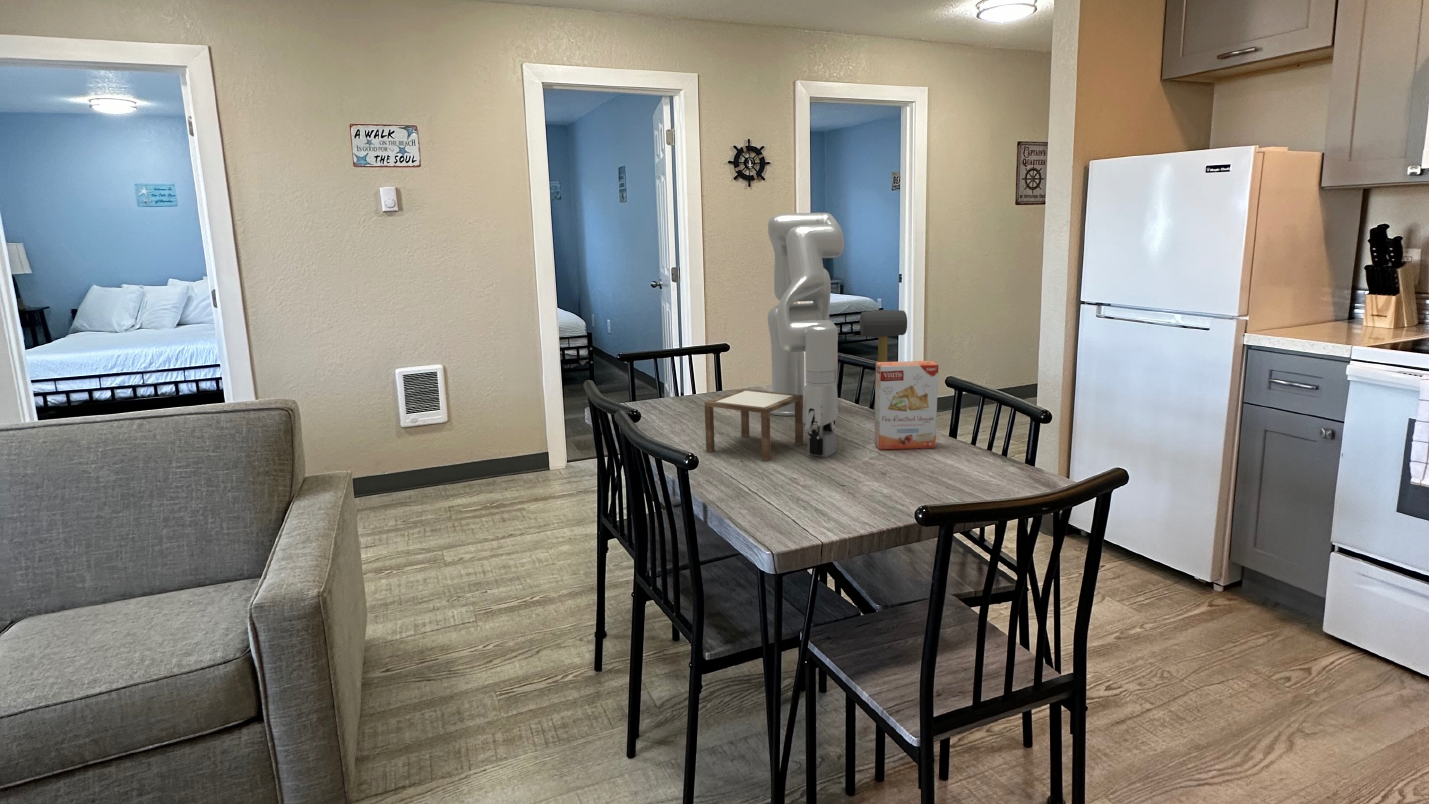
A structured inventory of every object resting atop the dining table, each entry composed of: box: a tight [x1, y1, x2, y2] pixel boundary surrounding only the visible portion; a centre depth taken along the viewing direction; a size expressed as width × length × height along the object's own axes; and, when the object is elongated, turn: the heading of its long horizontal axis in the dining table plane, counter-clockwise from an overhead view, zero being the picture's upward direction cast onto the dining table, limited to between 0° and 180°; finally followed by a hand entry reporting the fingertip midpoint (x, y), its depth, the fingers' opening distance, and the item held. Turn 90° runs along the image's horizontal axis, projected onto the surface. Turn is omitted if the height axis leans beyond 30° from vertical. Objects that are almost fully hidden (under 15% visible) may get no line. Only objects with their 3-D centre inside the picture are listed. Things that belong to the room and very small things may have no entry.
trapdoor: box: [716, 391, 792, 407], centre depth 200 cm, size 14×14×1 cm
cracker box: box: [874, 360, 939, 450], centre depth 197 cm, size 14×6×21 cm, turn 91°
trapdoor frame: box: [704, 388, 804, 462], centre depth 201 cm, size 18×18×12 cm
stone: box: [807, 429, 837, 458], centre depth 195 cm, size 5×5×5 cm
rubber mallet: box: [859, 309, 908, 362], centre depth 228 cm, size 12×8×30 cm, turn 90°
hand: (821, 450), depth 195 cm, fingers closed on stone, 5 cm apart
